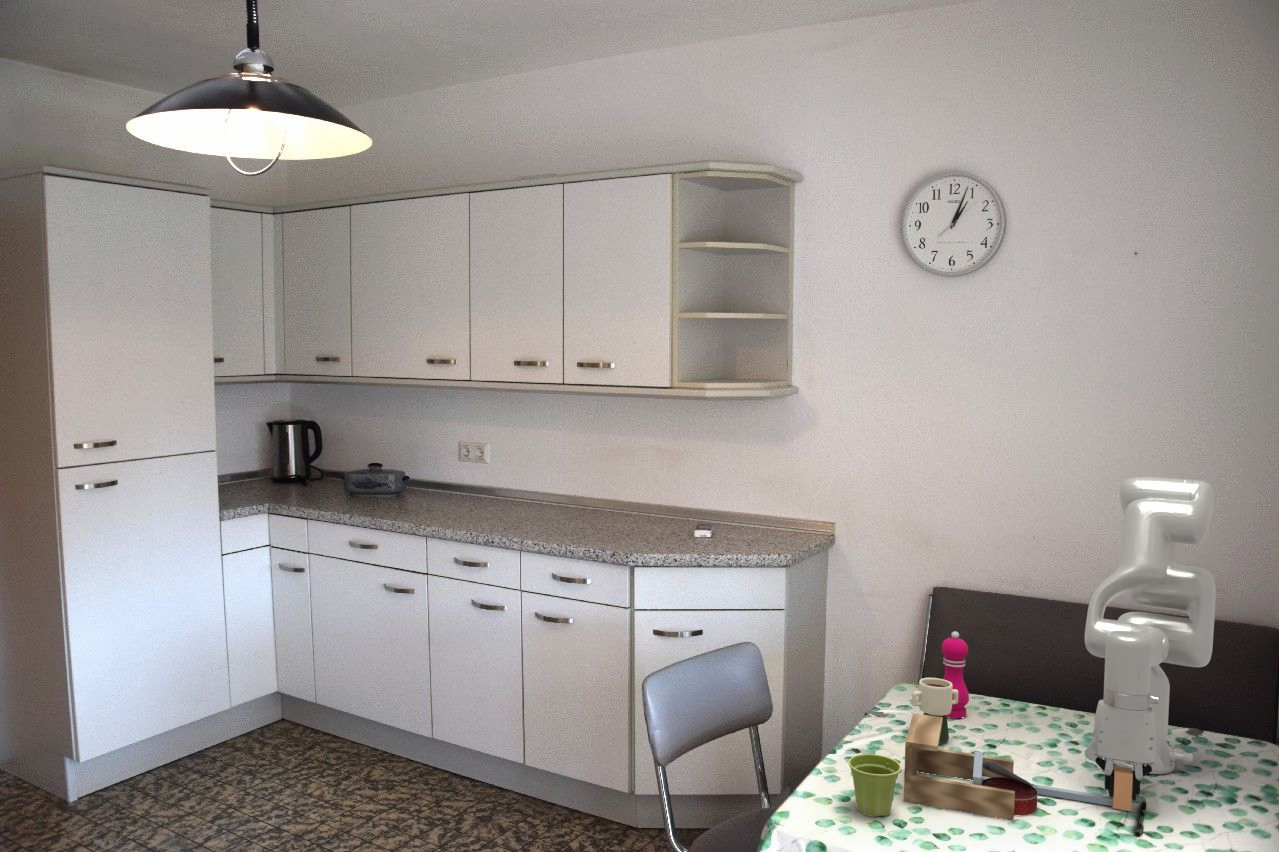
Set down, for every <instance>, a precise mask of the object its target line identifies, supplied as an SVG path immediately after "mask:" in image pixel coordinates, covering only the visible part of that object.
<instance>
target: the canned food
mask: <svg viewBox="0 0 1279 852" xmlns="http://www.w3.org/2000/svg"><path fill="white" fill-rule="evenodd" d="M982 766H983V767H984V768H985V769H987V770H988V771H991V772H993V773H996V774H999V775H1001V776H1004V777H993V778H988V779H985V780H984V781H983V782H982V786H987V787H993V788H999V789H1005V790H1011V791H1015V799H1014V816H1015V815H1026V816H1030V815H1029V814H1031V815H1034V814H1035V813H1036V812H1037V811H1036V810H1038V796H1039V794H1038V792H1037V790H1036V789H1035V788H1034V787H1033V786H1035V785H1036V784H1035V785H1033V784H1034V783H1031V782H1029V781H1027V780H1026V779H1024V778H1022V777H1020V776H1019V775H1017V774H1016V773H1014V772H1013V773H1012V772H1011V771H1009V770H1007V769H1006V768H1004V767H1003V766H1001V765H999V764H997V763H994V762H988V761H987V760H986V761H984V762H982ZM1005 777H1007V778H1005ZM1031 785H1032V786H1031ZM1035 787H1037V786H1035ZM1034 812H1035V813H1034Z"/></svg>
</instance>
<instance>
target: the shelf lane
mask: <svg viewBox="0 0 1279 852" xmlns="http://www.w3.org/2000/svg"><path fill="white" fill-rule="evenodd" d="M942 722H943V717H937V716H930V715H923V713H915V712H914V713H912V717H911V720H910V723H909V727H908V730H907V731H908V732H907V735H906V739H905V744H904V745H905V747H904V748H905V749H904V751H905V752H904V774H903V775H904V777H903V801H902V802H904V803H907V802H908V803H909V804H914V805H919V804H920V805H921V806H926V807H930V808H931V807H932V808H937V809H942V810H948V811H949V810H950V811H954V812H959V811H961V812H960V813H965V812H966V813H965V814H971V813H973V814H972V815H977V814H979V815H978V816H982V815H984V816H983V817H988V816H990V817H989V818H994V817H997V818H996V819H1000V818H1003V819H1002V820H1005V819H1008V820H1007V821H1011V820H1013V821H1012V822H1014V821H1015V819H1014V818H1015V815H1014V799H1015V791H1011V790H1005V789H999V788H993V787H987V786H981V785H974V784H973V783H967V782H962V781H961V782H960V781H954V780H948V779H945V778H943V779H942V778H936V777H930V776H925V775H920V774H919V775H918V774H917V773H920V772H924V773H923V774H926V773H929V774H928V775H932V774H936V775H935V776H939V775H942V776H941V777H945V776H947V778H951V777H957V778H963V779H971V780H973V769H974V756H975V753H970V752H969V753H968V752H963V751H956V750H949V749H943V748H939V744H940V743H939V739H940V734H941V728H942ZM986 760H987V761H988V762H994V763H997V764H999V765H1001V766H1003V767H1004V768H1006V769H1007V770H1009V771H1011V772H1012V773H1014V770H1015V769H1014V767H1015V766H1014V764H1015V761H1014V759H1009V758H1003V757H998V756H997V757H996V756H989V755H984V754H983V762H984V761H986ZM917 771H918V772H917ZM948 776H949V777H948ZM982 776H985V777H992V778H993V777H1004V776H1001V775H999V774H996V773H993V772H991V771H988V770H987V769H985V768H984V767H983V766H982ZM957 778H956V779H957ZM1005 778H1007V777H1005ZM963 779H962V780H963ZM908 803H907V804H908Z"/></svg>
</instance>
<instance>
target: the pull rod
mask: <svg viewBox="0 0 1279 852" xmlns="http://www.w3.org/2000/svg"><path fill="white" fill-rule="evenodd" d="M974 754H975V756H974V769H973V781H972V784H974V785H981V786H982V782H983V781H984V780H985V779H988V778H992V777H985V776H982V762H983V755H984V752H982V751H974ZM1112 770H1113V774H1114V796H1113V797H1109V795H1103V794H1098V793H1092V792H1091V793H1090V792H1084V791H1079V790H1072V789H1066V788H1059V787H1053V786H1047V785H1041V784H1034V783H1032V784H1033V785H1035V786H1037V787H1035V786H1033V787H1034V788H1035V789H1036V790H1037V792H1038V795H1042V796H1048V797H1055V798H1060V799H1061V798H1062V799H1068V800H1074V801H1080V802H1085V803H1092V804H1099V805H1103V806H1104V805H1105V806H1111V807H1112V809H1114V810H1121V811H1128V812H1132V801H1133V800H1132V783H1133V773H1132V772H1133V771H1132V770H1131V768H1127V767H1121V766H1118V765H1115V764H1113V768H1112ZM1031 786H1032V785H1031Z"/></svg>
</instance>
